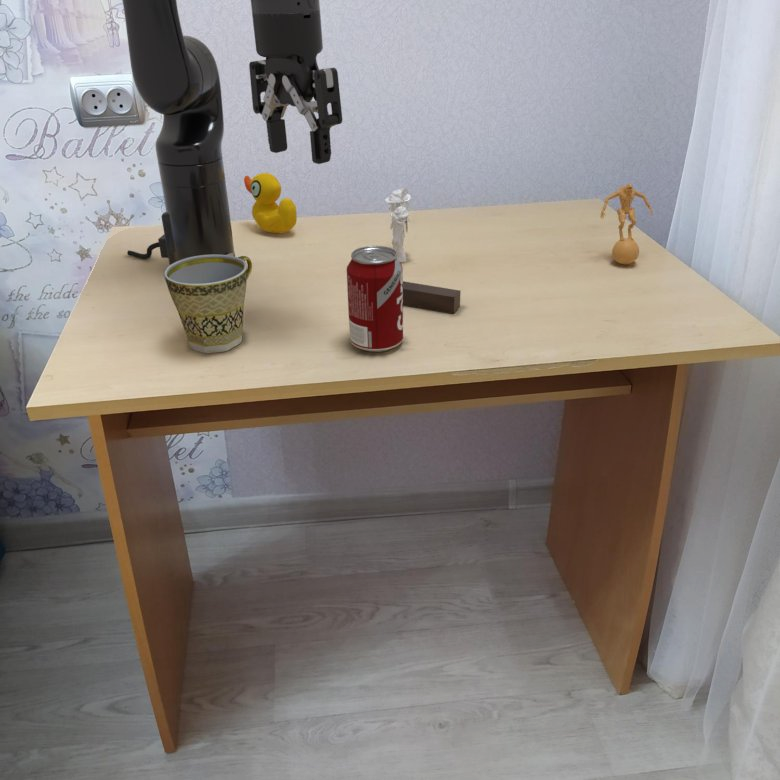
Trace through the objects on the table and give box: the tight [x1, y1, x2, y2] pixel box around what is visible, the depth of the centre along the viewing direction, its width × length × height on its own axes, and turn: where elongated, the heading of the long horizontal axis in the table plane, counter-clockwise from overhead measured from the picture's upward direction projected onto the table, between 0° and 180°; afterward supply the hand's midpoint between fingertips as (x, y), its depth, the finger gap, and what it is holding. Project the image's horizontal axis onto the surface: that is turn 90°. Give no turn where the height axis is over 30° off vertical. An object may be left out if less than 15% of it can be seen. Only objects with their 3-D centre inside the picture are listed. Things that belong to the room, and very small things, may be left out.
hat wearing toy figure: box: [385, 187, 412, 263], centre depth 121 cm, size 9×4×12 cm, turn 4°
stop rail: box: [403, 280, 461, 315], centre depth 108 cm, size 12×2×2 cm, turn 65°
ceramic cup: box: [163, 254, 253, 354], centre depth 98 cm, size 13×10×10 cm
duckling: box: [243, 172, 298, 234], centre depth 133 cm, size 11×5×10 cm, turn 51°
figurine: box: [600, 183, 654, 266], centre depth 118 cm, size 8×6×12 cm
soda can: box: [346, 245, 404, 353], centre depth 95 cm, size 7×7×12 cm
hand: (299, 156), depth 93 cm, fingers open, 8 cm apart
